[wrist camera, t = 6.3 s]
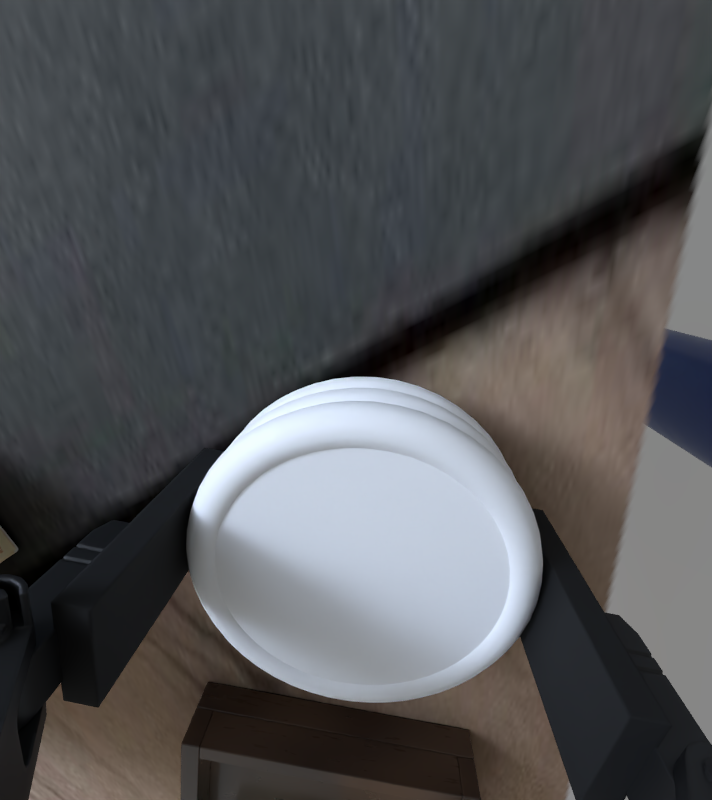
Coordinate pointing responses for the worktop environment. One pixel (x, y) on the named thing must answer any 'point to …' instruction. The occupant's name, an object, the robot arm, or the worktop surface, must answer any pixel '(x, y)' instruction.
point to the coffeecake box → (6, 545)
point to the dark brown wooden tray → (318, 752)
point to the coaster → (365, 543)
